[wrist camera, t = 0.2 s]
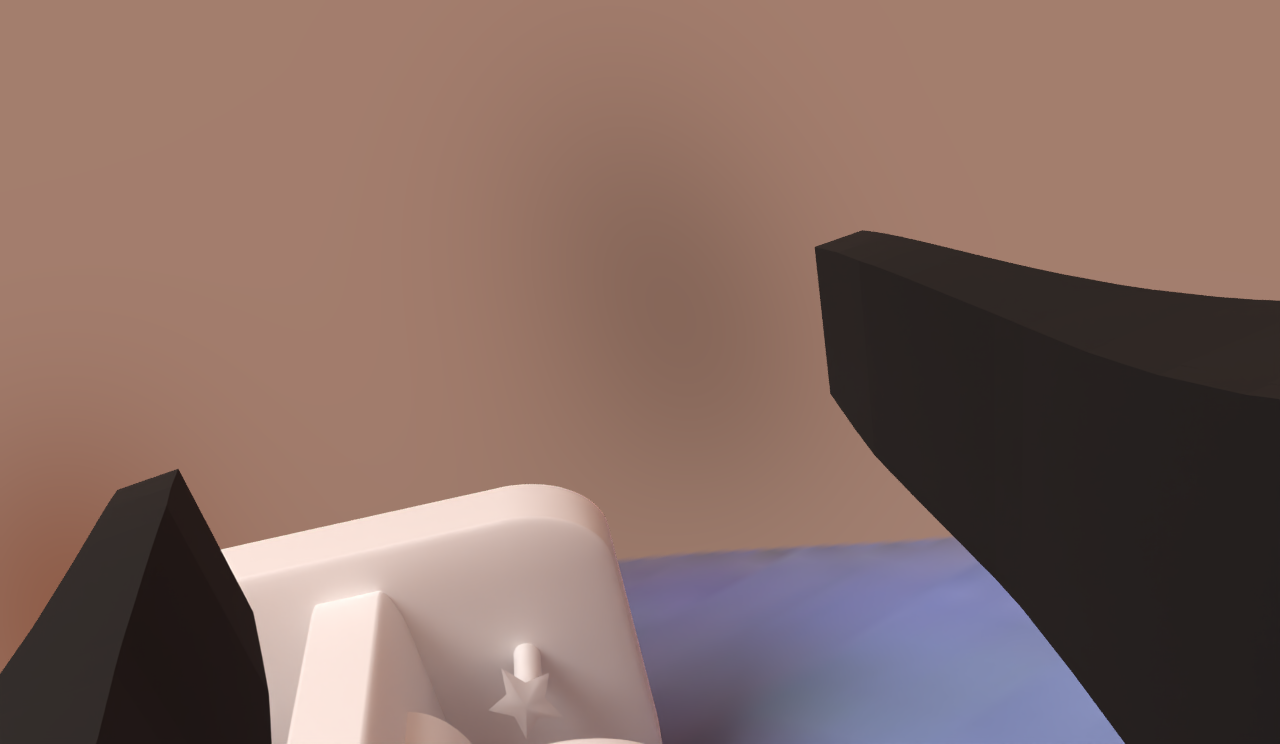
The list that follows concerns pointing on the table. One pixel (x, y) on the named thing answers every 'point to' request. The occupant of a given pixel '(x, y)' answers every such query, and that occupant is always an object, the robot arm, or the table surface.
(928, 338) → the robot arm
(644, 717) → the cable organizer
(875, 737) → the table surface
